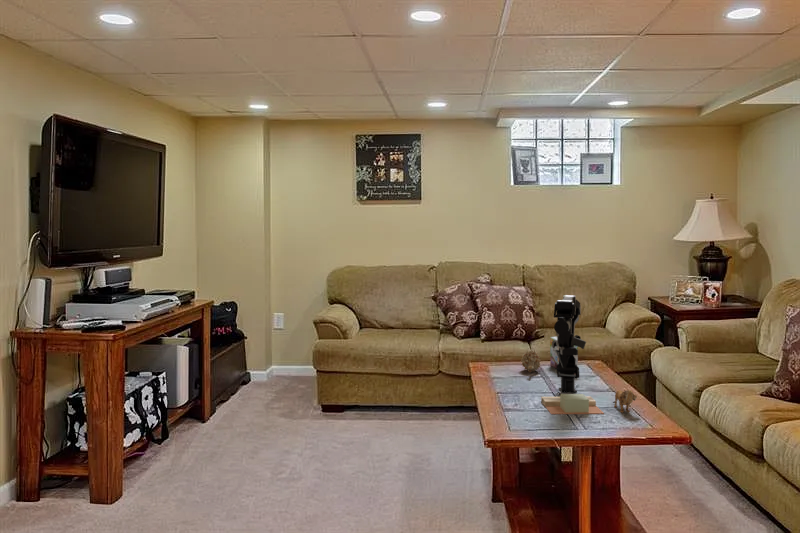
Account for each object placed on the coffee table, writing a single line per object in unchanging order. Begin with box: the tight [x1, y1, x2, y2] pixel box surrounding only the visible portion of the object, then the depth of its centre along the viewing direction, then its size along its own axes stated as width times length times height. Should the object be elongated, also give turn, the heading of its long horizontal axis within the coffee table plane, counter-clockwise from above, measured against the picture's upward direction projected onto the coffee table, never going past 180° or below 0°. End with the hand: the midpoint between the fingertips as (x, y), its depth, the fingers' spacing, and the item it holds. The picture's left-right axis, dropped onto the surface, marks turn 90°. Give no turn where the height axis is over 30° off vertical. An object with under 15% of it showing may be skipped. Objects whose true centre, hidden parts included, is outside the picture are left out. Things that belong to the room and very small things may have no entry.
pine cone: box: [520, 350, 541, 373], centre depth 296 cm, size 22×10×10 cm, turn 172°
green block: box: [559, 393, 589, 412], centre depth 235 cm, size 5×9×8 cm
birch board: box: [540, 395, 597, 408], centre depth 244 cm, size 7×20×2 cm, turn 89°
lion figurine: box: [612, 389, 638, 413], centre depth 236 cm, size 15×5×9 cm, turn 8°
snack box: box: [549, 336, 579, 375], centre depth 302 cm, size 21×6×15 cm, turn 10°
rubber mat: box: [545, 405, 605, 415], centre depth 236 cm, size 10×20×1 cm, turn 89°
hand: (564, 368), depth 250 cm, fingers closed
